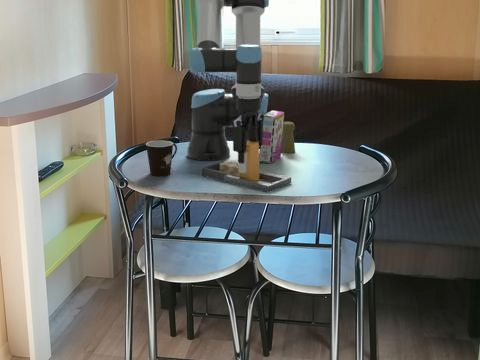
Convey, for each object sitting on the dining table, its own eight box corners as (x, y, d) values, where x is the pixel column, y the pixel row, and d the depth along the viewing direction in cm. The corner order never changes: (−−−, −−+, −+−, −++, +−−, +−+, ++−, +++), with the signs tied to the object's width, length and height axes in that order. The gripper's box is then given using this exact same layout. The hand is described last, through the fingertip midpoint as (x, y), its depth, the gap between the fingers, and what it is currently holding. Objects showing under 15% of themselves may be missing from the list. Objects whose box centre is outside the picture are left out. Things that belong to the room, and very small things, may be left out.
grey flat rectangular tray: (224, 181, 210) (224, 175, 210) (248, 173, 219) (248, 167, 219) (268, 192, 200) (268, 186, 199) (291, 183, 209) (291, 177, 208)
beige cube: (219, 175, 216) (219, 163, 215) (227, 173, 219) (227, 161, 218) (229, 178, 214) (229, 166, 213) (237, 175, 217) (237, 163, 216)
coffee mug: (152, 178, 213) (151, 148, 210) (143, 172, 220) (142, 142, 217) (186, 174, 218) (186, 144, 215) (176, 167, 225) (175, 138, 222)
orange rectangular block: (239, 180, 211) (238, 143, 208) (248, 177, 215) (247, 140, 212) (250, 182, 209) (249, 144, 205) (259, 179, 212) (258, 142, 209)
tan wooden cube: (229, 178, 214) (229, 166, 213) (237, 175, 217) (237, 163, 216) (239, 180, 212) (239, 168, 210) (247, 177, 215) (247, 165, 213)
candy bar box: (272, 164, 230) (274, 117, 226) (258, 162, 232) (260, 115, 227) (281, 156, 240) (284, 111, 236) (268, 154, 242) (271, 109, 237)
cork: (284, 148, 251) (285, 119, 248) (298, 151, 248) (299, 121, 245) (275, 152, 247) (276, 122, 243) (289, 154, 243) (290, 124, 240)
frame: (201, 175, 217) (201, 168, 216) (223, 168, 225) (223, 161, 224) (225, 181, 211) (225, 173, 210) (246, 174, 219) (246, 166, 218)
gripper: (240, 102, 196) (239, 179, 202) (275, 94, 209) (274, 166, 216) (220, 99, 200) (220, 174, 207) (256, 91, 213) (255, 163, 220)
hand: (247, 170), depth 211 cm, fingers closed on orange rectangular block, 4 cm apart
